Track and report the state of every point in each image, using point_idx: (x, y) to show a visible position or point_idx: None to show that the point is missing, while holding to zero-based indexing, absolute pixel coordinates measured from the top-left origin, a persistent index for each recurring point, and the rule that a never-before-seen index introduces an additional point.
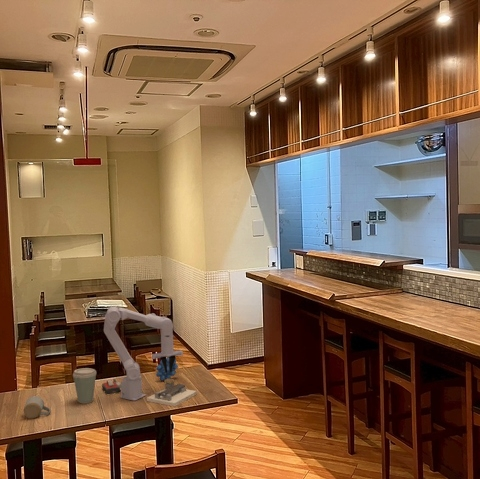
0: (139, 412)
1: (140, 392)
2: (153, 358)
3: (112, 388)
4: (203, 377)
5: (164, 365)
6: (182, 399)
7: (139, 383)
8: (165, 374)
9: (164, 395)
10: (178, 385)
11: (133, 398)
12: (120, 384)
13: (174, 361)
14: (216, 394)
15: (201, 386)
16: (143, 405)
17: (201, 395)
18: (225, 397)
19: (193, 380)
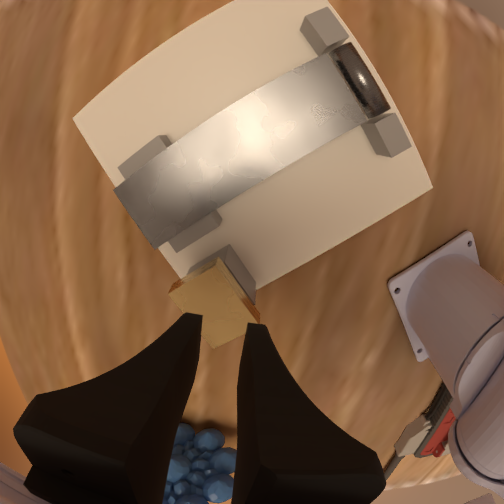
0: (492, 51)
1: (442, 275)
2: (485, 501)
3: None
4: (25, 355)
5: (296, 389)
6: (218, 11)
7: (481, 303)
8: (190, 448)
9: (357, 52)
10: (164, 204)
11: (467, 257)
12: (412, 435)
13: None
14: (10, 74)
15: (34, 244)
16: (459, 126)
17: (69, 86)
18: (4, 20)
19: (64, 352)
